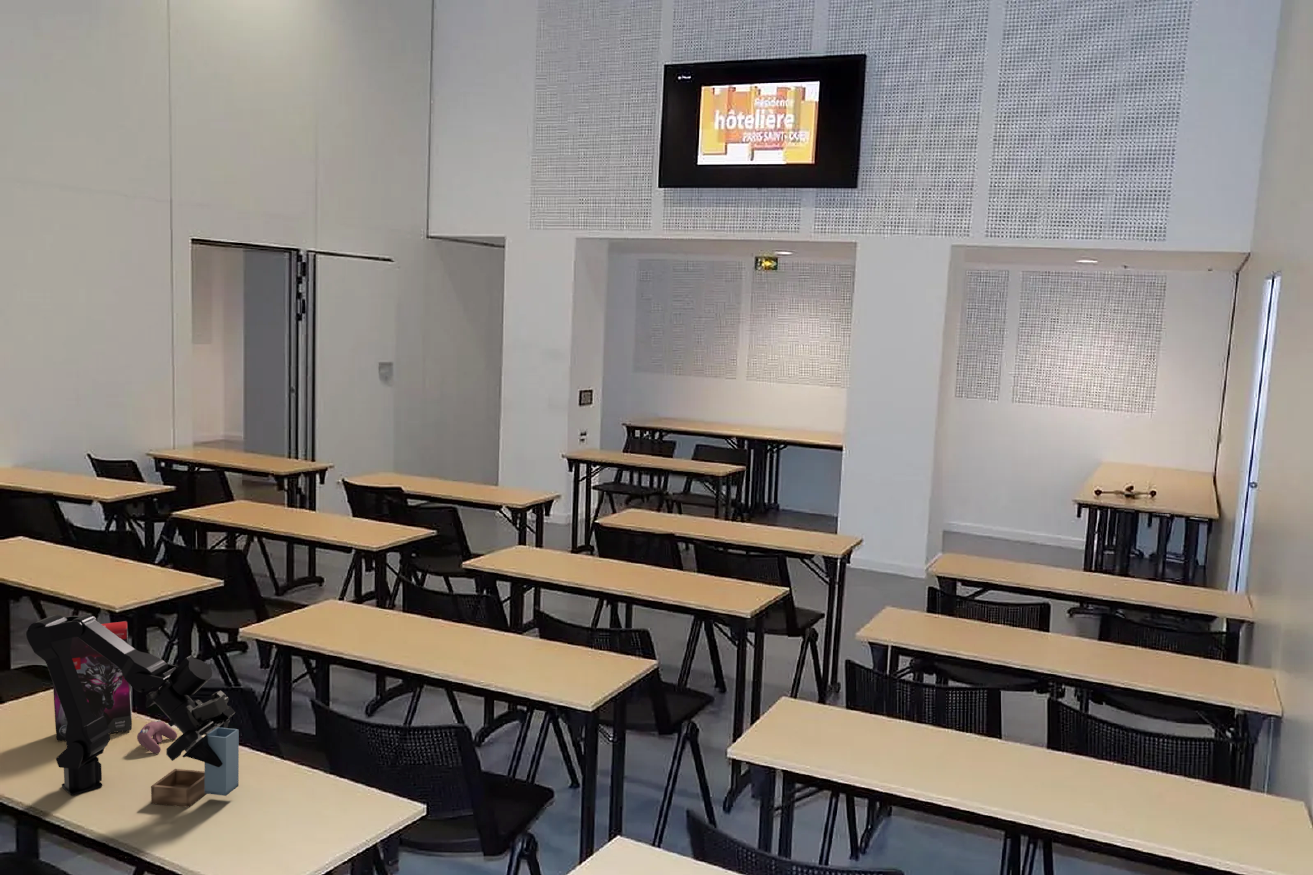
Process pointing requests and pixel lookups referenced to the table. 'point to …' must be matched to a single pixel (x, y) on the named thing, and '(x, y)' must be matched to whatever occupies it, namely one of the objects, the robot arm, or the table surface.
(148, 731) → the video game controller
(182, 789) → the walnut crate
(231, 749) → the tall slate-blue crate
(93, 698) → the graphics card box
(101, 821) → the table surface
